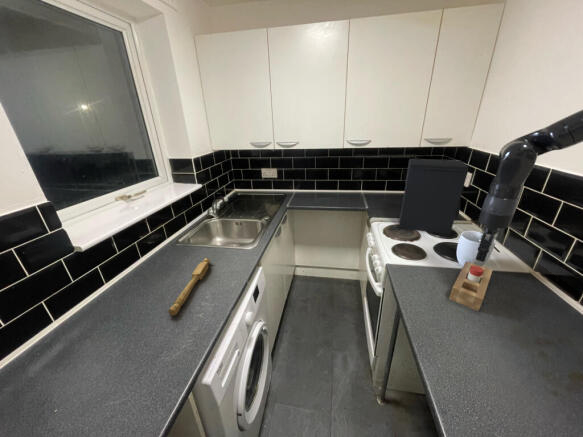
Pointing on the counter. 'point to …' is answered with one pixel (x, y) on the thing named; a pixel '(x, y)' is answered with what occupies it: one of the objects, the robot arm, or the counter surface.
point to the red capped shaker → (475, 274)
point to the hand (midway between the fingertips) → (482, 254)
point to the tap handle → (189, 286)
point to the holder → (470, 287)
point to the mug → (471, 248)
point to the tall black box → (432, 195)
